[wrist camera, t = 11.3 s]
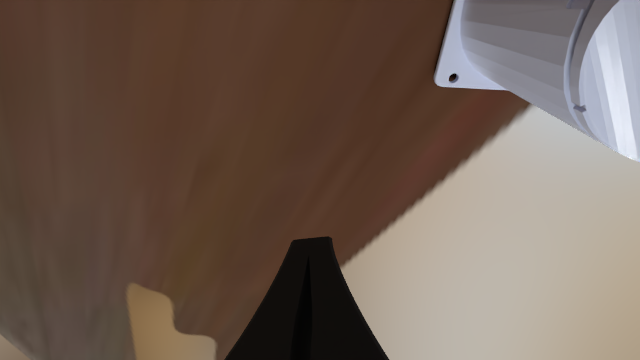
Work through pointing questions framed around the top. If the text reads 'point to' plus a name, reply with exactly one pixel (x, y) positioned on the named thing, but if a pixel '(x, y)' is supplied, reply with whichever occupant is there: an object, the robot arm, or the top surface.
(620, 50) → the robot arm
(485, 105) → the top surface
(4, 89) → the top surface
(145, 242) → the top surface
